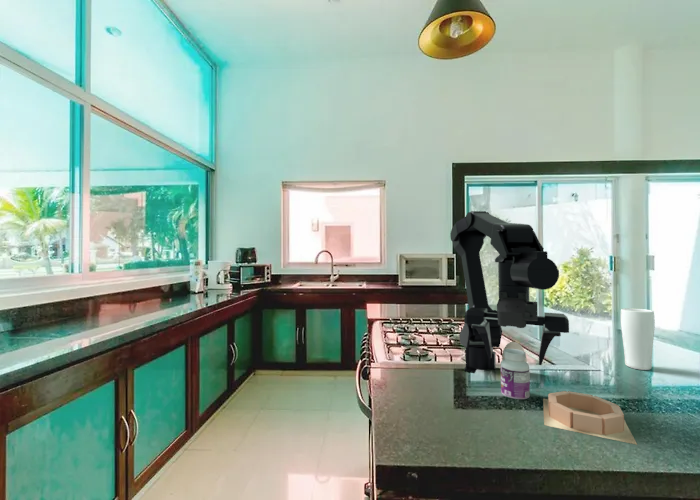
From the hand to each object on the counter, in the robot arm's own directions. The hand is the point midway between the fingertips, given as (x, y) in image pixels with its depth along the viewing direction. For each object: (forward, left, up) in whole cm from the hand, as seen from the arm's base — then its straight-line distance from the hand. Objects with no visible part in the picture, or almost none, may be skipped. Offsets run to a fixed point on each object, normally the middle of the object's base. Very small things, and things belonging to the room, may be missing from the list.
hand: (514, 361), depth 69 cm
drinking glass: (+27, +37, -8) cm, 46 cm away
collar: (+11, -6, -7) cm, 14 cm away
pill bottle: (0, 0, -8) cm, 8 cm away
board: (+11, -6, -8) cm, 15 cm away
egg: (-1, +16, -8) cm, 18 cm away
